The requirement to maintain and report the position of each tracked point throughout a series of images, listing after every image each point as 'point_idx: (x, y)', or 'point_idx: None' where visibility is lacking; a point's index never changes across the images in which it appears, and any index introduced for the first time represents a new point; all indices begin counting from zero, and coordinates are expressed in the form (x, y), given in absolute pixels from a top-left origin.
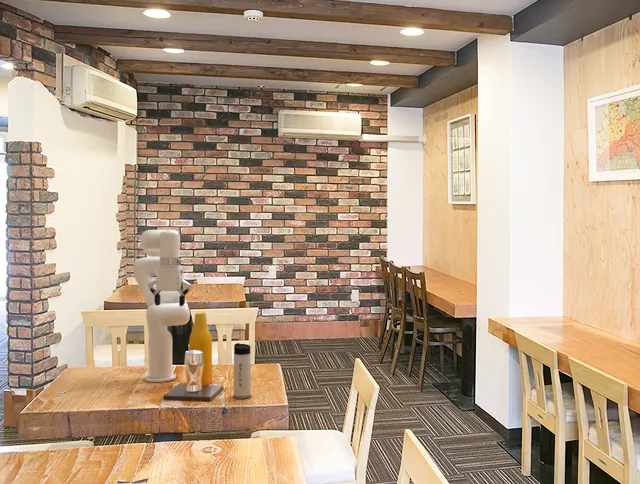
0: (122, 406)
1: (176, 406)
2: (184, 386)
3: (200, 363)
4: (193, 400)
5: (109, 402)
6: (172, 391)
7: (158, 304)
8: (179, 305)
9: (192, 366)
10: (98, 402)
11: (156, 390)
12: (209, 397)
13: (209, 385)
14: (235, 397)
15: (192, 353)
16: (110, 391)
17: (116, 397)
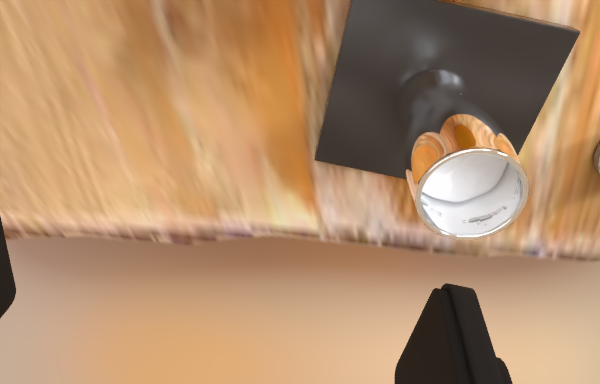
0: (197, 207)
1: (373, 228)
2: (386, 28)
3: (492, 193)
4: None
5: (134, 162)
6: (341, 107)
7: (1, 266)
8: (396, 376)
9: (446, 201)
10: (96, 157)
11: (255, 13)
12: None
13: (510, 22)
14: (597, 171)
15: (458, 143)
16: (58, 10)
17: (128, 104)
